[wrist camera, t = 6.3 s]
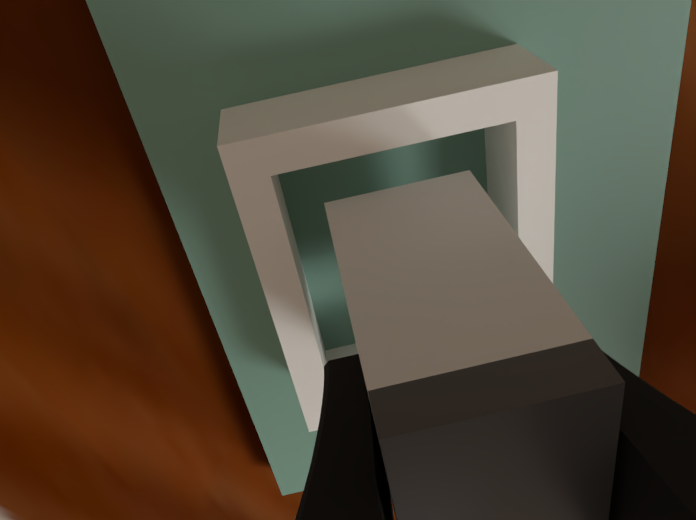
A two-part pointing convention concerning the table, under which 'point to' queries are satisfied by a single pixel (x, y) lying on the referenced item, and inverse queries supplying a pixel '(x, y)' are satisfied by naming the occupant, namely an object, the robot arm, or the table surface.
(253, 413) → the socket board
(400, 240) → the plug
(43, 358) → the table surface
